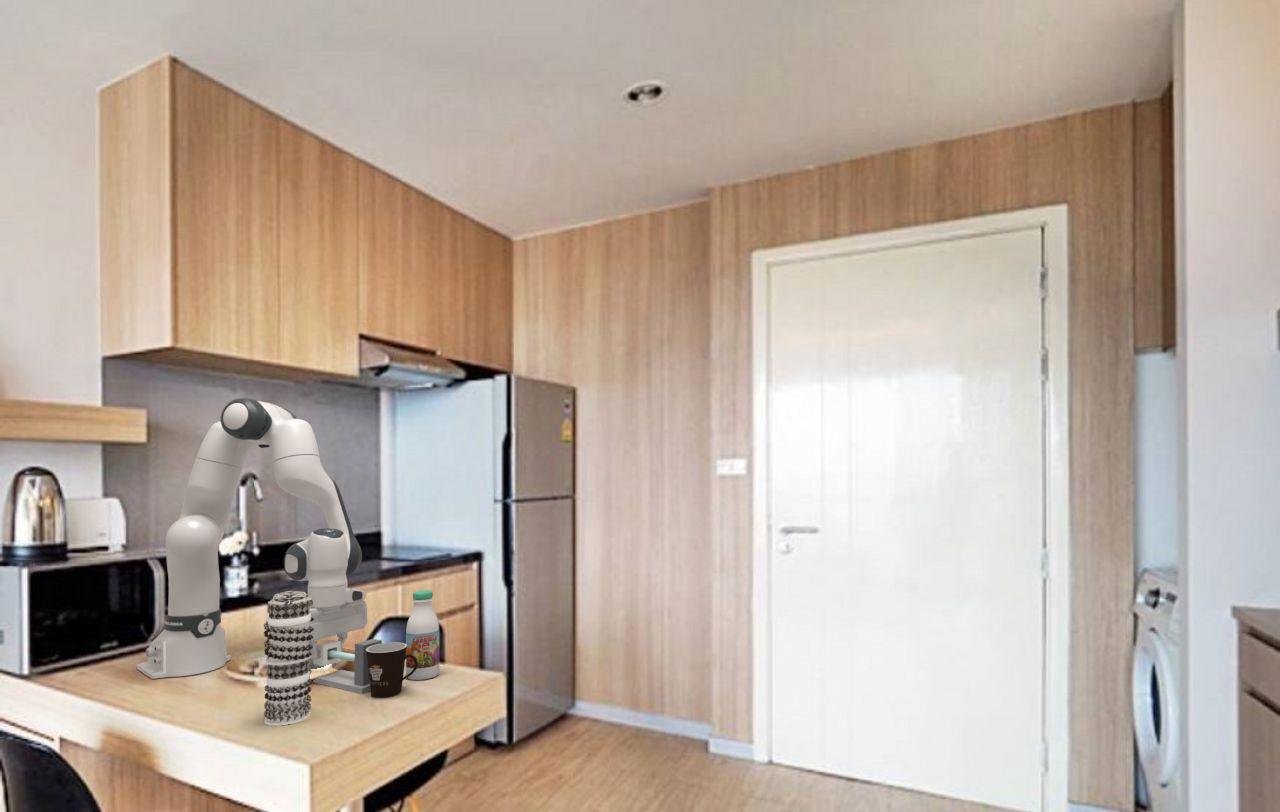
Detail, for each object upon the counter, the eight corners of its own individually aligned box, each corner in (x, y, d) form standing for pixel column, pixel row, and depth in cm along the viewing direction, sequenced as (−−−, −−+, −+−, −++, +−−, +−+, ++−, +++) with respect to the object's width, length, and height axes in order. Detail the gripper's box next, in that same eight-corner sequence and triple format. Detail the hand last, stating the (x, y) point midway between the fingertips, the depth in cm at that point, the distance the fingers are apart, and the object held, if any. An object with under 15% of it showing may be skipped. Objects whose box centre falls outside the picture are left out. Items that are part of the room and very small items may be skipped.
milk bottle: (400, 676, 169) (400, 591, 170) (430, 669, 174) (430, 587, 175) (414, 683, 163) (414, 595, 164) (445, 675, 168) (445, 591, 170)
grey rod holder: (301, 679, 167) (302, 636, 168) (327, 671, 173) (328, 629, 174) (362, 693, 156) (362, 647, 157) (387, 684, 162) (388, 639, 163)
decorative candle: (265, 714, 145) (267, 590, 147) (314, 707, 148) (316, 587, 150) (258, 729, 136) (261, 598, 138) (310, 722, 139) (312, 594, 141)
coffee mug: (358, 694, 156) (358, 648, 157) (394, 684, 162) (395, 640, 163) (383, 705, 148) (384, 657, 149) (420, 695, 154) (421, 648, 155)
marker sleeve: (313, 663, 167) (313, 644, 168) (330, 659, 171) (330, 639, 172) (323, 666, 165) (323, 646, 166) (340, 661, 169) (340, 641, 170)
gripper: (295, 606, 159) (294, 668, 158) (371, 590, 176) (370, 647, 175) (278, 604, 162) (277, 665, 161) (355, 588, 180) (354, 644, 179)
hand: (327, 655), depth 168 cm, fingers closed on marker sleeve, 5 cm apart
